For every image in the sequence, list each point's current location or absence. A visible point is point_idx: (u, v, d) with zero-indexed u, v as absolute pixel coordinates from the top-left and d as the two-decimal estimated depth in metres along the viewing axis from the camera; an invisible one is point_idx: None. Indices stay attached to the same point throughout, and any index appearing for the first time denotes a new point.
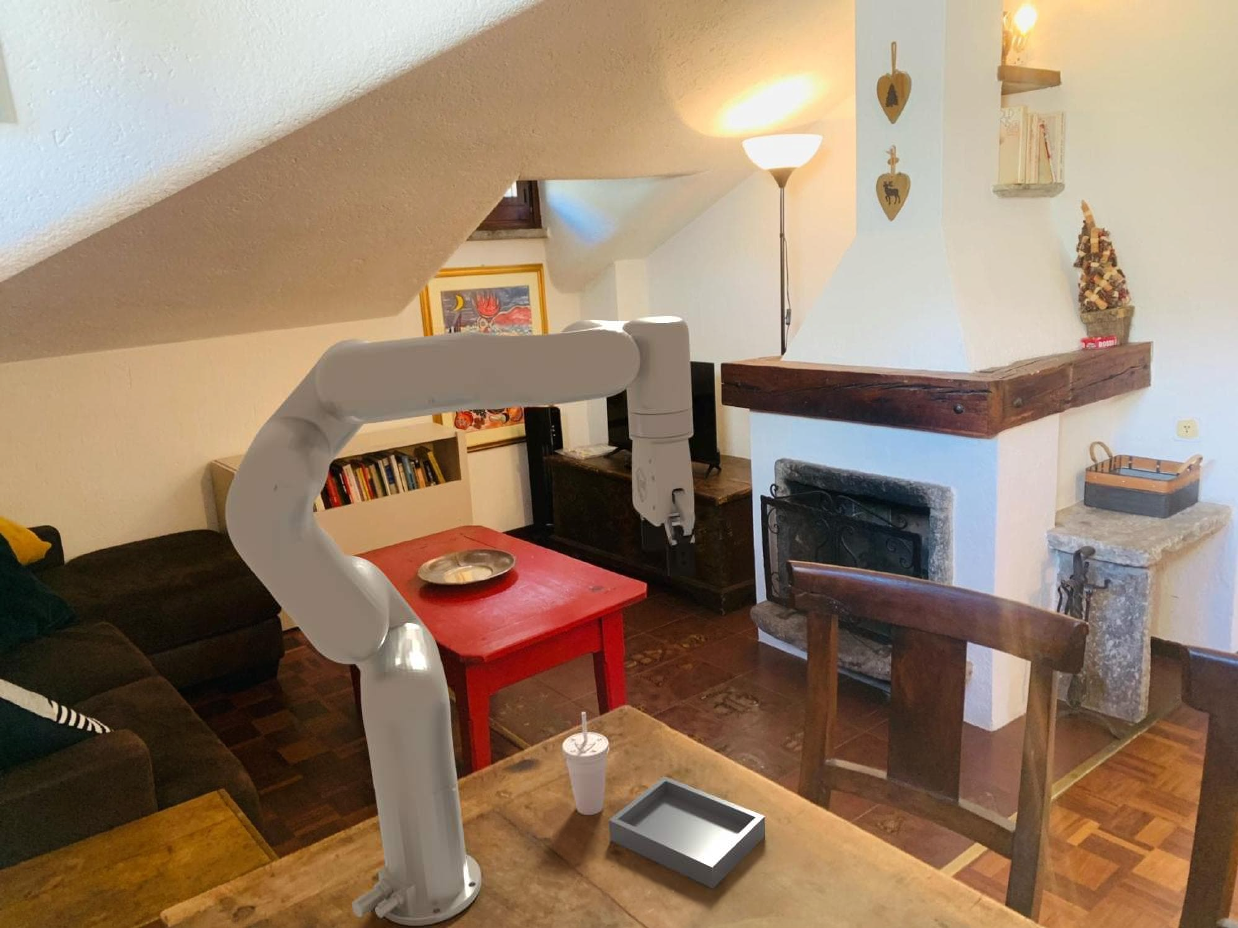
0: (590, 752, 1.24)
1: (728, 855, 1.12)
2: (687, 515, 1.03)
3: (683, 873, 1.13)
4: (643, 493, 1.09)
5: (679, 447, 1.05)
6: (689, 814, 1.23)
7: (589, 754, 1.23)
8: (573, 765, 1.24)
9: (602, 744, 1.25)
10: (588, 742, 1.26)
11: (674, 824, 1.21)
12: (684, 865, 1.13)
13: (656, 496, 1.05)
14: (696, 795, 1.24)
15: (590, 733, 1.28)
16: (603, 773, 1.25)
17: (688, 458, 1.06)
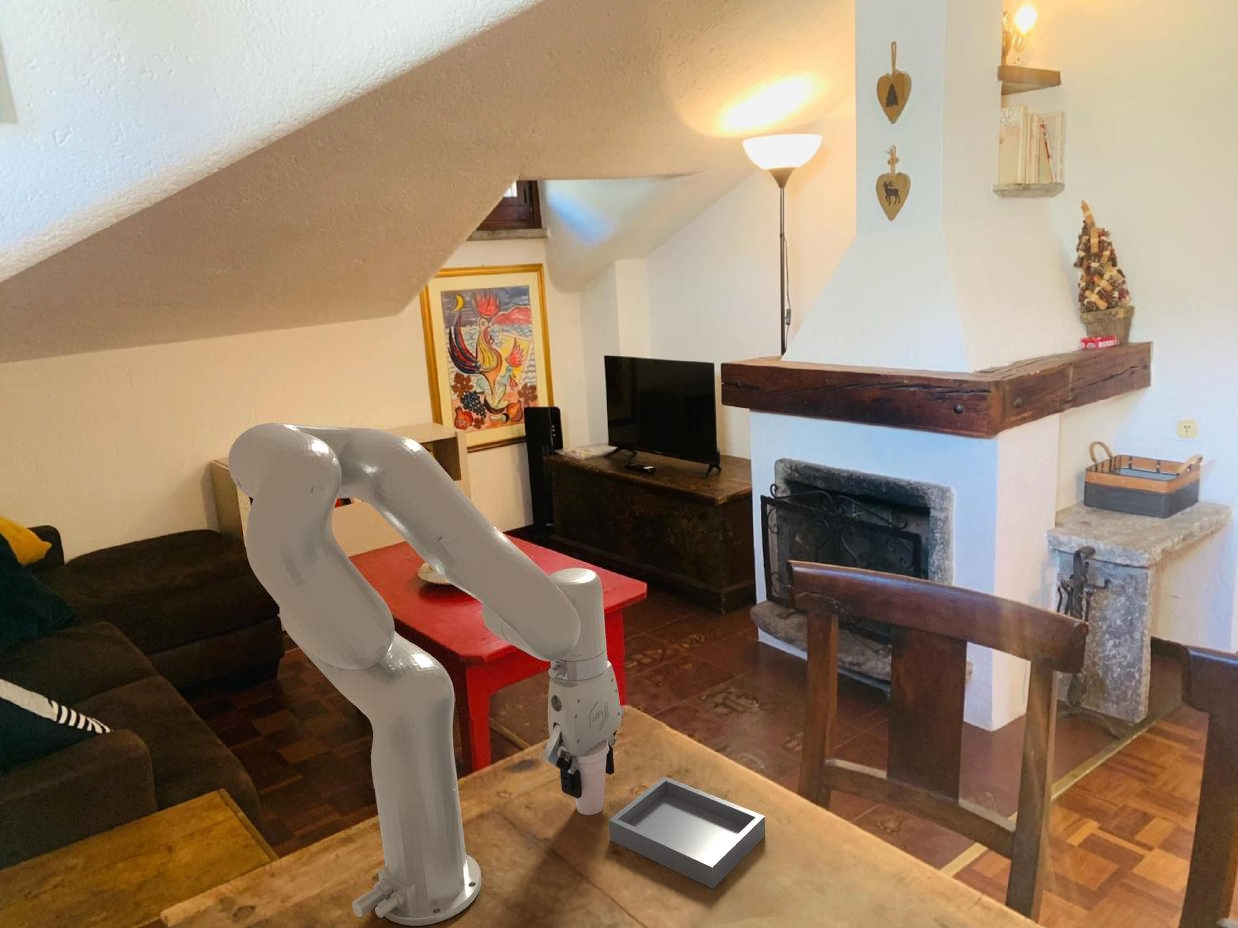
0: (589, 752, 1.23)
1: (728, 855, 1.12)
2: None
3: (683, 873, 1.13)
4: (600, 720, 1.23)
5: None
6: (689, 814, 1.23)
7: (589, 754, 1.23)
8: None
9: (602, 744, 1.25)
10: None
11: (674, 824, 1.21)
12: (684, 865, 1.13)
13: (619, 702, 1.26)
14: (696, 795, 1.24)
15: None
16: (603, 773, 1.25)
17: None
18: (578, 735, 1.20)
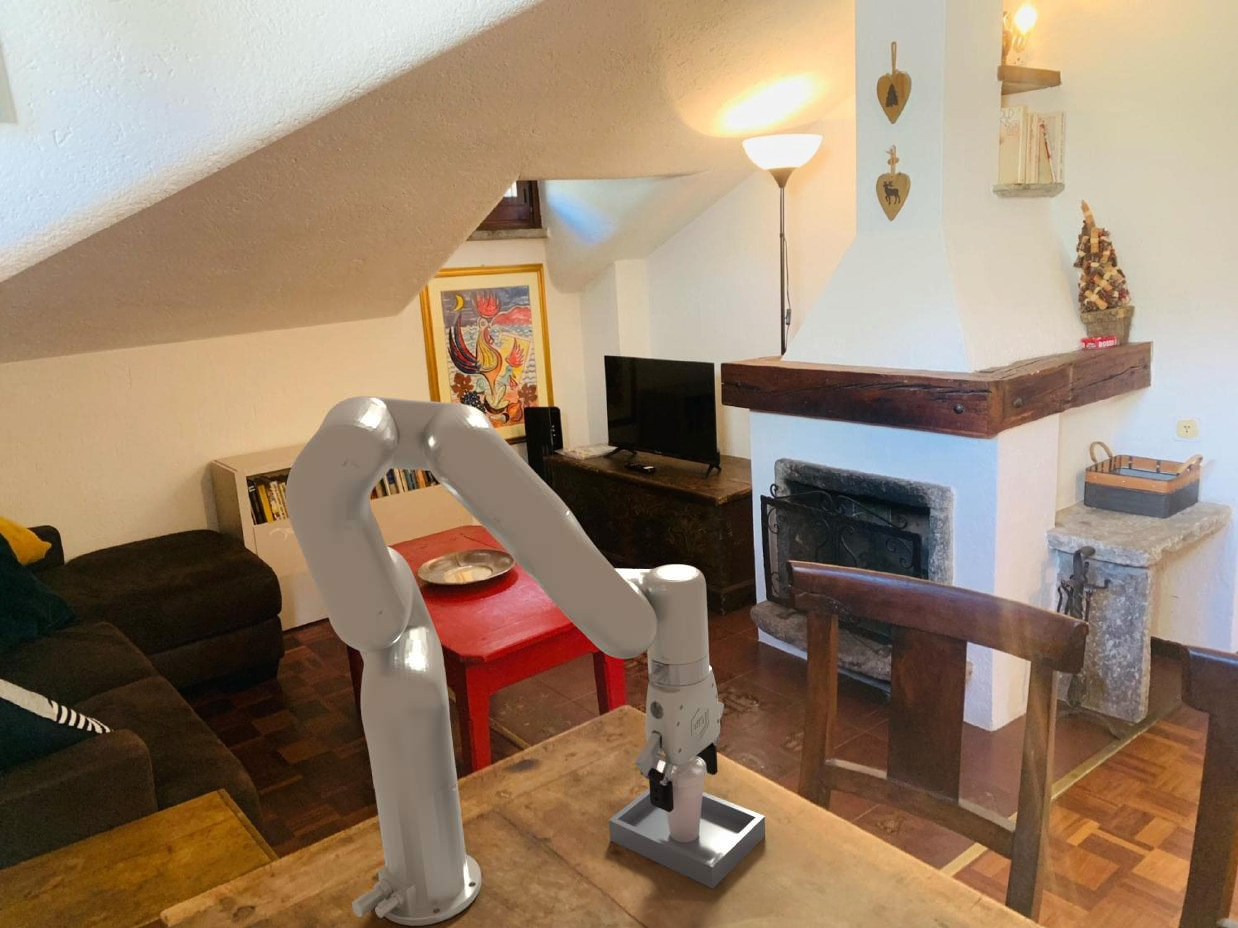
0: (688, 775, 1.15)
1: (728, 855, 1.12)
2: None
3: (683, 873, 1.13)
4: (701, 728, 1.15)
5: None
6: None
7: (688, 778, 1.15)
8: None
9: (700, 766, 1.17)
10: (684, 764, 1.17)
11: None
12: (684, 865, 1.13)
13: (719, 708, 1.18)
14: None
15: None
16: (701, 797, 1.17)
17: None
18: (680, 744, 1.11)
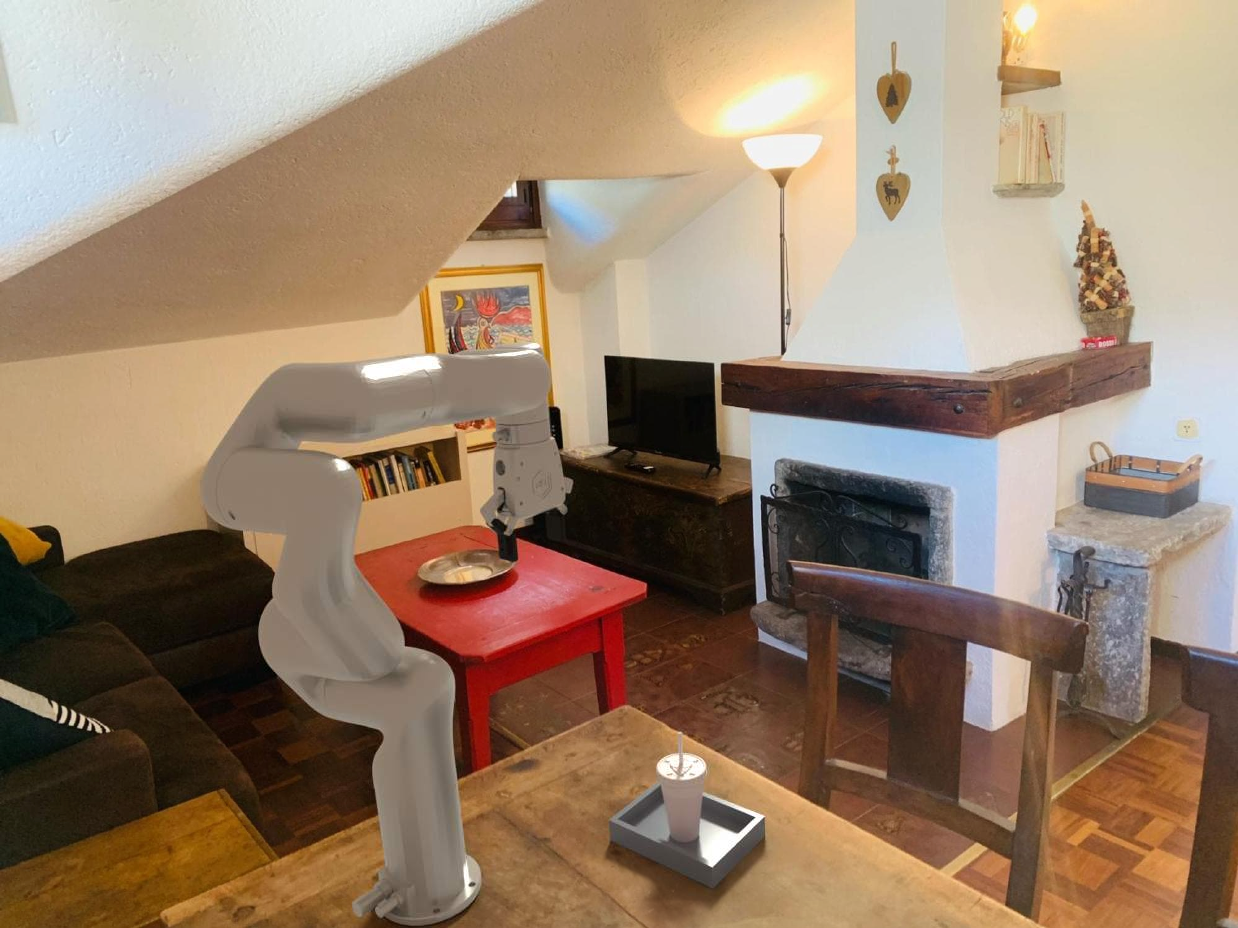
0: (688, 775, 1.15)
1: (728, 855, 1.12)
2: None
3: (683, 873, 1.13)
4: (544, 489, 1.29)
5: None
6: None
7: (688, 778, 1.15)
8: (670, 789, 1.15)
9: (700, 766, 1.17)
10: (684, 764, 1.17)
11: None
12: (684, 865, 1.13)
13: (563, 478, 1.32)
14: None
15: (684, 754, 1.20)
16: (701, 797, 1.17)
17: None
18: (521, 498, 1.26)
